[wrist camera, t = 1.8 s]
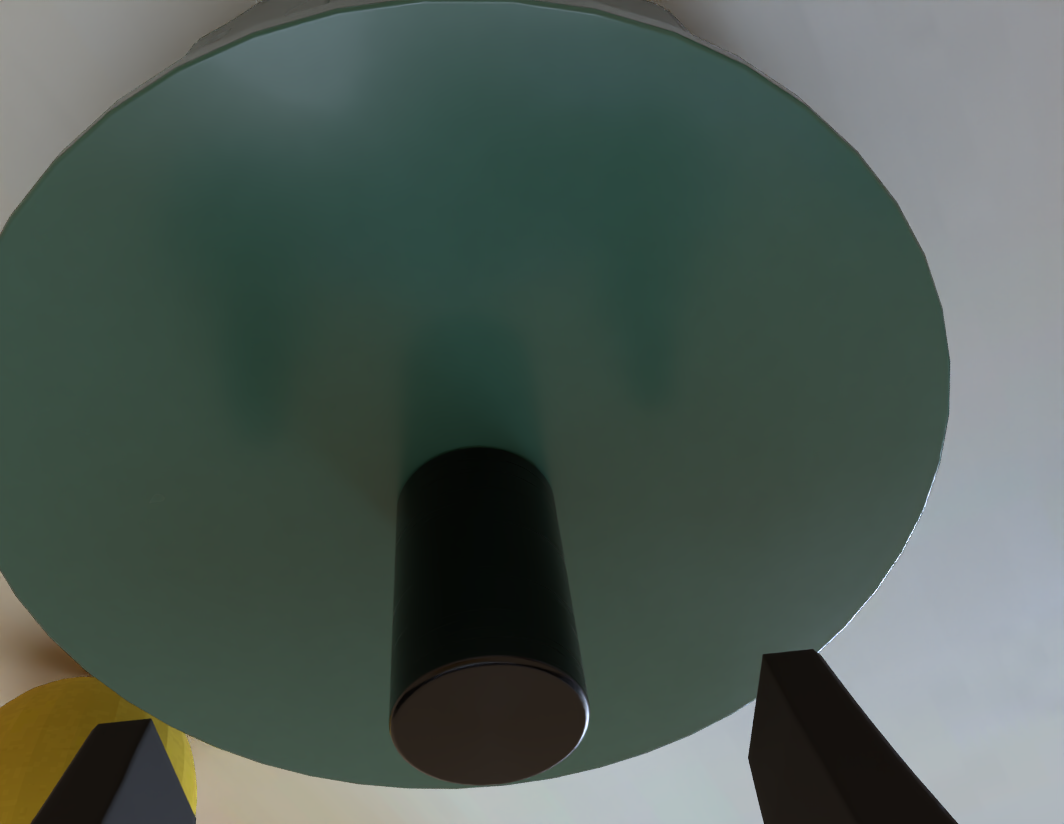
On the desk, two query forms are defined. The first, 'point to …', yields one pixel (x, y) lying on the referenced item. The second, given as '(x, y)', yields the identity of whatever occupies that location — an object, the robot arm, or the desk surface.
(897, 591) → the desk surface
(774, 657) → the robot arm
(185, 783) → the lemon
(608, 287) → the tin lid
